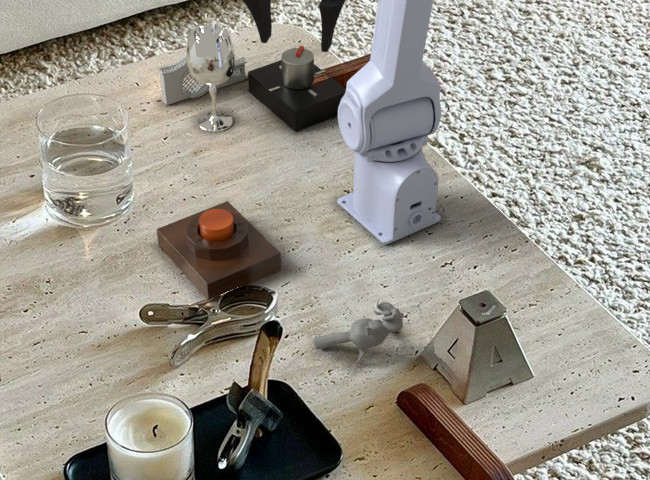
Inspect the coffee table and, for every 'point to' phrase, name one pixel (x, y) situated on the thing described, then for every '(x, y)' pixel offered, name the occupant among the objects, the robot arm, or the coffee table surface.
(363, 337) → the grey bird figurine
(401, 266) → the coffee table surface
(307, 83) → the dial
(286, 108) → the dial panel
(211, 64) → the wineglass
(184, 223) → the button block
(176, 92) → the lattice window wall
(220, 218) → the button
